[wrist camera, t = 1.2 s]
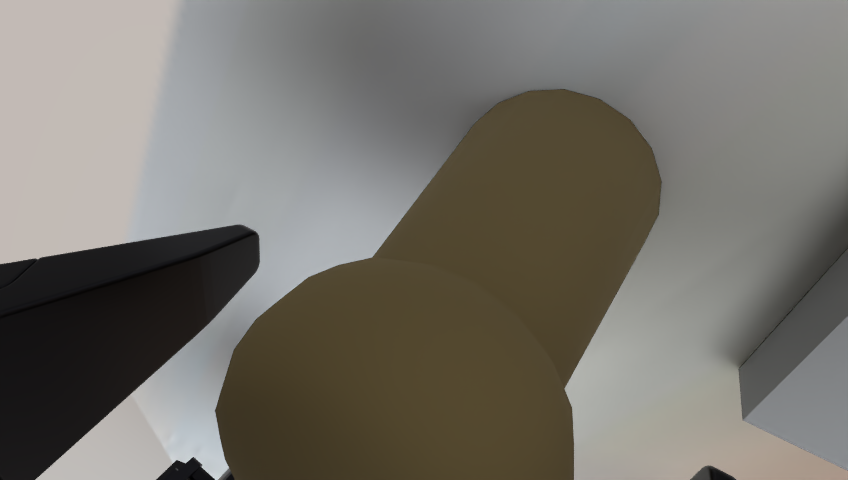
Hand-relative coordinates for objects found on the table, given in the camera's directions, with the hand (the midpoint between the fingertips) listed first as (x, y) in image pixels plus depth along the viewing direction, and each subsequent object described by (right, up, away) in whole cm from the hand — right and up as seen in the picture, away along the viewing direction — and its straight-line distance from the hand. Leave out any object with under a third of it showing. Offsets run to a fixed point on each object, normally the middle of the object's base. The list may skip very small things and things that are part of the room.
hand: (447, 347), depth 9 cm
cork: (+3, +3, +6) cm, 7 cm away
